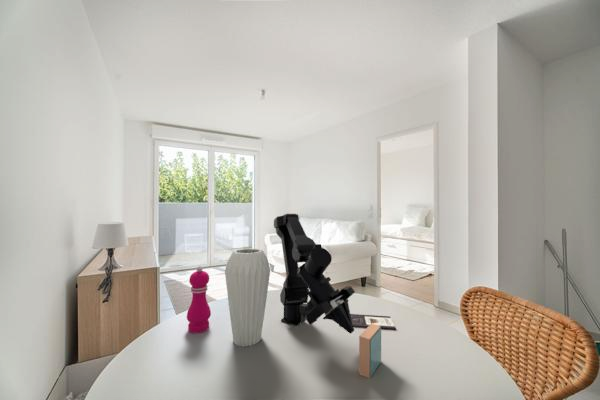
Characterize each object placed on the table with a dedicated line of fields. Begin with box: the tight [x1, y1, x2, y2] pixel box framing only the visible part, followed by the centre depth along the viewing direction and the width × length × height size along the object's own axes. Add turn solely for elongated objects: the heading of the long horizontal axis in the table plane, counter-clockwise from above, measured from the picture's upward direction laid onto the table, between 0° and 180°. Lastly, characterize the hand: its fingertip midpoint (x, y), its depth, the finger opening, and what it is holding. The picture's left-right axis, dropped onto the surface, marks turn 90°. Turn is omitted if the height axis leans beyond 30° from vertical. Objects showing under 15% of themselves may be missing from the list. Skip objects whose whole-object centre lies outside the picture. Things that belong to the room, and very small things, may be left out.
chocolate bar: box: [338, 313, 397, 331], centre depth 88 cm, size 9×1×18 cm
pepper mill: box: [186, 266, 212, 334], centre depth 83 cm, size 7×7×20 cm
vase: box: [224, 248, 271, 348], centre depth 77 cm, size 13×13×26 cm
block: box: [358, 324, 382, 379], centre depth 64 cm, size 3×8×9 cm, turn 144°
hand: (352, 332), depth 66 cm, fingers closed
